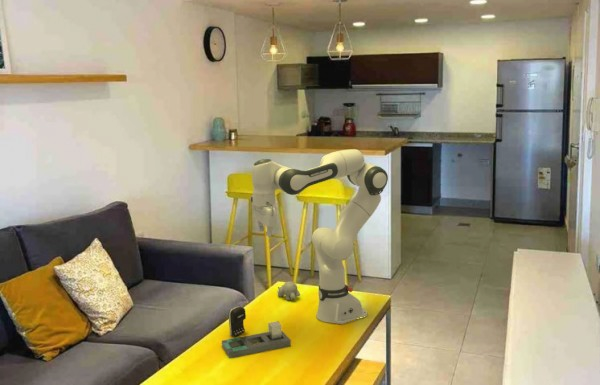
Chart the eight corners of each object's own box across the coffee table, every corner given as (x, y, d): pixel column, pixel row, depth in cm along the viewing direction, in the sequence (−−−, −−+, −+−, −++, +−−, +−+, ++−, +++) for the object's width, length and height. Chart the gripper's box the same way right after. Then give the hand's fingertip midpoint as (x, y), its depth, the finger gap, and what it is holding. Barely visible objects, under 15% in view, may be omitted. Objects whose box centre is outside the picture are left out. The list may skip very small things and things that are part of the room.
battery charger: (235, 338, 245) (234, 311, 243) (229, 335, 247) (227, 309, 245) (247, 332, 250) (246, 306, 248) (241, 330, 252) (240, 304, 250)
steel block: (278, 339, 243) (277, 321, 241) (281, 343, 239) (281, 325, 238) (268, 341, 241) (268, 323, 240) (272, 345, 238) (271, 326, 236)
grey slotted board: (280, 335, 247) (280, 329, 246) (290, 346, 237) (290, 339, 236) (221, 346, 238) (221, 340, 237) (229, 358, 228) (229, 351, 227)
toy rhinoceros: (285, 299, 293) (280, 282, 294) (303, 295, 285) (297, 278, 286) (275, 303, 288) (270, 286, 288) (293, 299, 280) (288, 282, 281)
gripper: (280, 204, 231) (281, 238, 234) (263, 194, 250) (264, 227, 253) (264, 205, 229) (266, 240, 232) (249, 196, 248) (250, 228, 250)
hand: (265, 233), depth 242 cm, fingers open, 8 cm apart
